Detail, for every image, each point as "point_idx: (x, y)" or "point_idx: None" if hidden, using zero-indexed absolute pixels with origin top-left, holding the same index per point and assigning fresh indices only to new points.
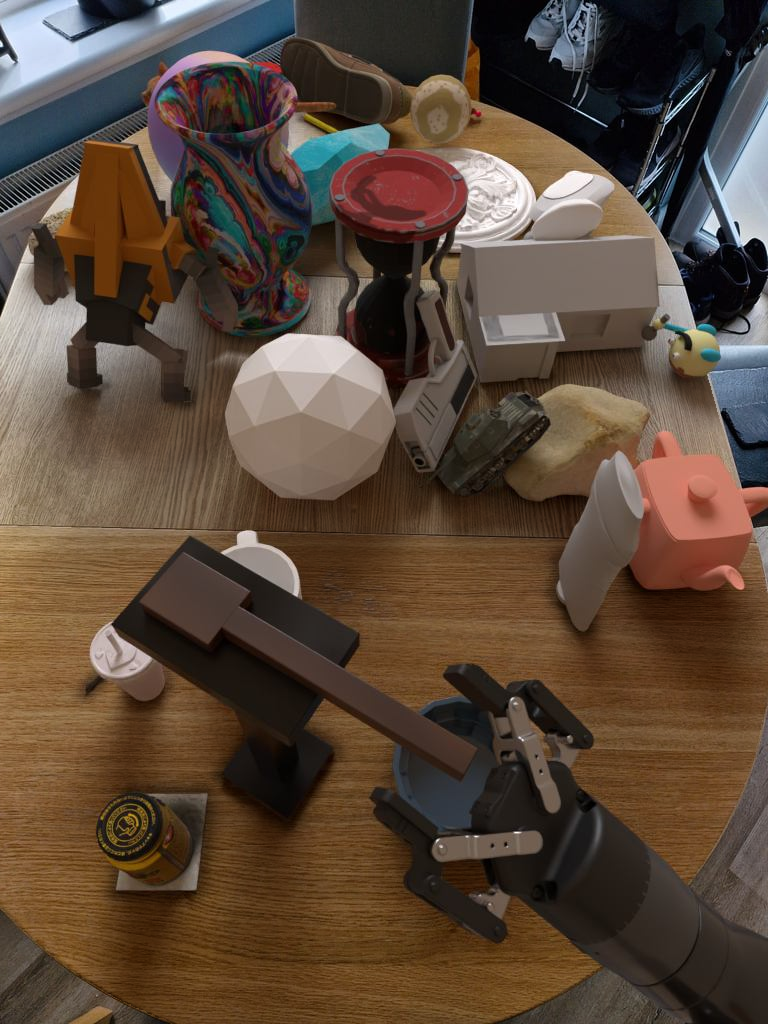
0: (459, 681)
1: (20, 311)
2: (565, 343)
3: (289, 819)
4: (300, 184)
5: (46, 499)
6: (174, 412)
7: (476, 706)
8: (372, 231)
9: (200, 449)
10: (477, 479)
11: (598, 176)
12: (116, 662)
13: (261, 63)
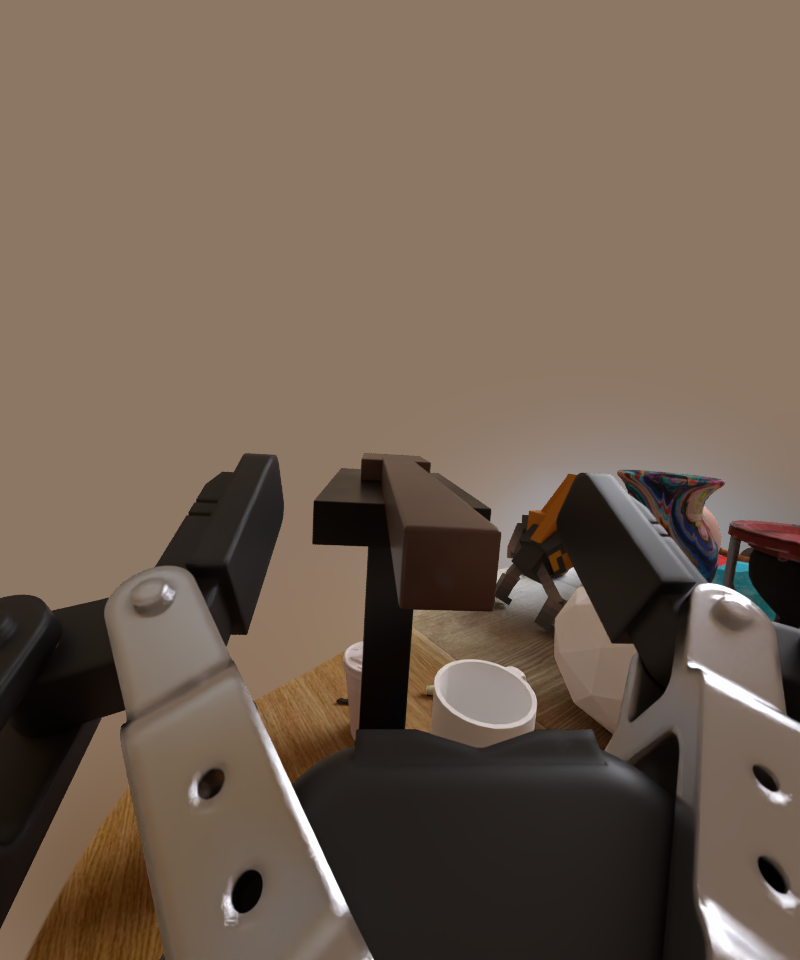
0: (579, 513)
1: (498, 572)
2: None
3: None
4: (709, 540)
5: (430, 622)
6: (538, 636)
7: (602, 623)
8: (764, 539)
9: (538, 658)
10: None
11: None
12: (357, 657)
13: (721, 556)
